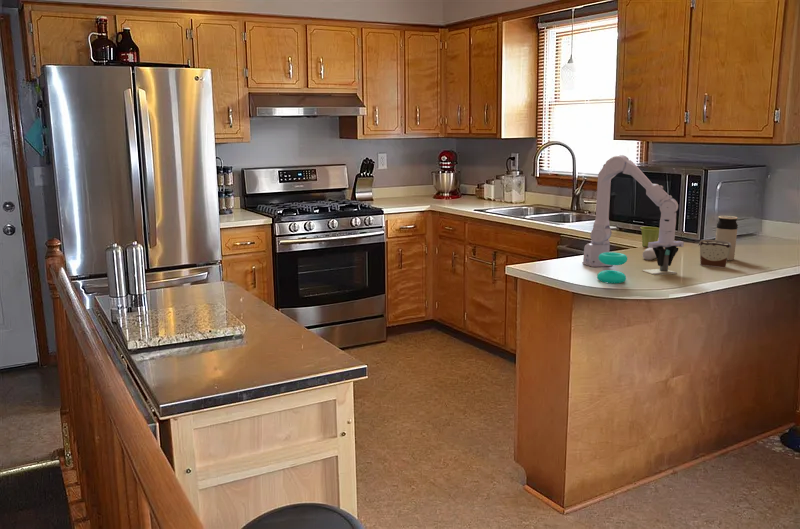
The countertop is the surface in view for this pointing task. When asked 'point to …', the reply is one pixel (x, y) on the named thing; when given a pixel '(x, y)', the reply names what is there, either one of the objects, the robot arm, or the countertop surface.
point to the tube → (650, 253)
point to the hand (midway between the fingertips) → (664, 265)
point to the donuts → (612, 275)
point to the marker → (665, 261)
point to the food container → (714, 253)
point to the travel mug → (727, 232)
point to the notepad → (659, 272)
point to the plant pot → (649, 235)
